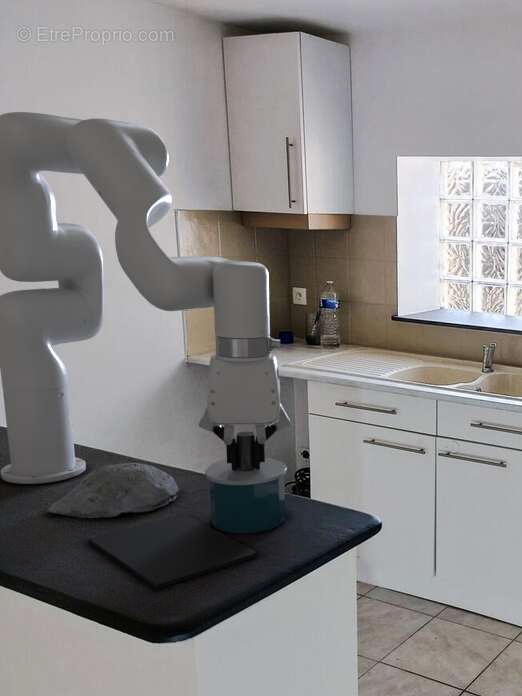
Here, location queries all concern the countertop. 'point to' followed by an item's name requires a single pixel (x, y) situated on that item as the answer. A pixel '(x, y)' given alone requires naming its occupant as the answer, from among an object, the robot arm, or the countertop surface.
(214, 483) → the pot
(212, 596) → the countertop surface
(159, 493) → the stone
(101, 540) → the mat
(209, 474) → the lid
